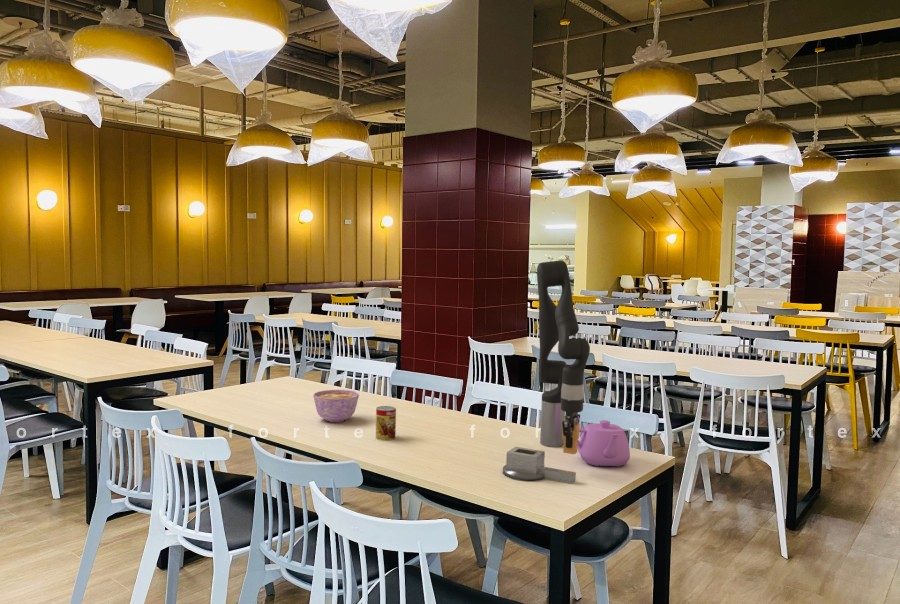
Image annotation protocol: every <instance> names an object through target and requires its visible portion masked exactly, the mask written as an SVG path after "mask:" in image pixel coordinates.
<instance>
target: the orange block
mask: <svg viewBox="0 0 900 604" xmlns="http://www.w3.org/2000/svg"><path fill="white" fill-rule="evenodd" d="M580 425H581V424H580V423H579V424H578V423H577V424H576V423H575V430H574V431H573V444H572V448H566V437H565V436H564V435H563V434H562V438H564V445H563V446H562V447H563V449H562V450H563V451H562V452H563V454H570V455H576V454H577V453H578V446H577V443H578V440H580V432H579V428H580V429H581V427H580ZM571 428H573V427H571ZM568 433H569V432H568Z"/></svg>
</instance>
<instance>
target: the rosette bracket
mask: <svg viewBox="0 0 900 604" xmlns="http://www.w3.org/2000/svg"><path fill="white" fill-rule="evenodd" d="M545 453H546V451H545V450H539V449H532V448H526V447H520V446H514V447H513V448H511V449H510V450H508V451H506V457H505V458H506V462H505V463H506V464H505V465H503V467H502V474H503V475H504V477H506V476H507V477H506V478H508V477H509V479H510V480H511V479H512V480H516V481H521V482H523V481H524V482H536V481H537V482H538V481H543V480H544V479H545V480H548V481H549V480H550V481H553V482H554V481H555V482H561V483H566V484H571V485H573V484H574V483H576V480H577V472H576V471H575V472H574V471H570V470H564V469H559V468H554V467H553V468H552V467H548V466H545V458H546V457H545Z"/></svg>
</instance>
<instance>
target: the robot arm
mask: <svg viewBox="0 0 900 604" xmlns="http://www.w3.org/2000/svg"><path fill="white" fill-rule="evenodd" d="M536 280H537V290H538V291H537V292H538V334H539V335H538V337H539V356H538V357H539V361H538V377H539V378H538V379H539V381H540V382H541V383H542V384H550V385H552V384H553V385H557V387H555V388H553V389H551V390H548V391H544V392H543V393H541V410H540V411H541V412H540V413H541V414H540V433H539V434H540V436H539V437H540V439H539V440H540V441H539V443H540V445H543V446H545V447H550V448H551V447H552V448H553V447H554V448H557V447H563V446H564V438H562V434H563V435H564V436H565V437H566V448H572V444H573V431H574V430H575V423H576V424H577V423H578V424H580V420H581V414H580V413H581V412H583V411H584V391H585V390H584V373H585V368H586V365H587V362H588V360H589V359H588V358H590V357H589V355H590V352H591V346H590V343H589V341H588V340H587V339H586V338H575V337H574V338H570V337H573V336H576V335H577V334H578V332H579V331H580V329H579V328H580V327H579V323H578V320H577V316H576V312H575V308H574V301H573V294H572V293H573V292H572V285H571V278H570V272H569V268H568V265H567V263H566V262H565V261H564V260H553V261H550V260H549V261H544V262H540V263H538V265H537V267H536ZM560 286H561V295H560V297H559V300H558V302H557V304H555V302H554V301H553V300H552V298H551V296H550V295H549V294H550V293H549V291H548V288H552V287H560ZM557 343H558V344H557ZM556 345H557V352H558V354H559V356H560V358H561V359H563V360H556V359H555V360H554V359H548V358H549V355H550V353H551V352H552V350H553V349H554V347H555V346H556ZM564 360H574V362H573V363H572V364H570V365H567V362H566V361H564ZM578 413H579V414H578ZM571 427H573V428H571ZM568 432H569V433H568Z"/></svg>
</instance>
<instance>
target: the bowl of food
mask: <svg viewBox="0 0 900 604" xmlns="http://www.w3.org/2000/svg"><path fill="white" fill-rule="evenodd" d="M312 397H313V399H314V406H315V409H316V413H317V415H318V416H319V417H320V418H322V419H324V420H326V421H327V422H328V421H330V422H329V423H342V422H345V421H346V420H348V419H349V418H351V417H352V416H353V415H354V413H355V411H356V409H357V404H358V402H359V401H358V400H359V397H360V393H359V392H357V391H354V390H348V389H347V390H346V389H329V390H328V389H326V390H320V391H316V392H314V393H313V395H312ZM344 420H345V421H344Z"/></svg>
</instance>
